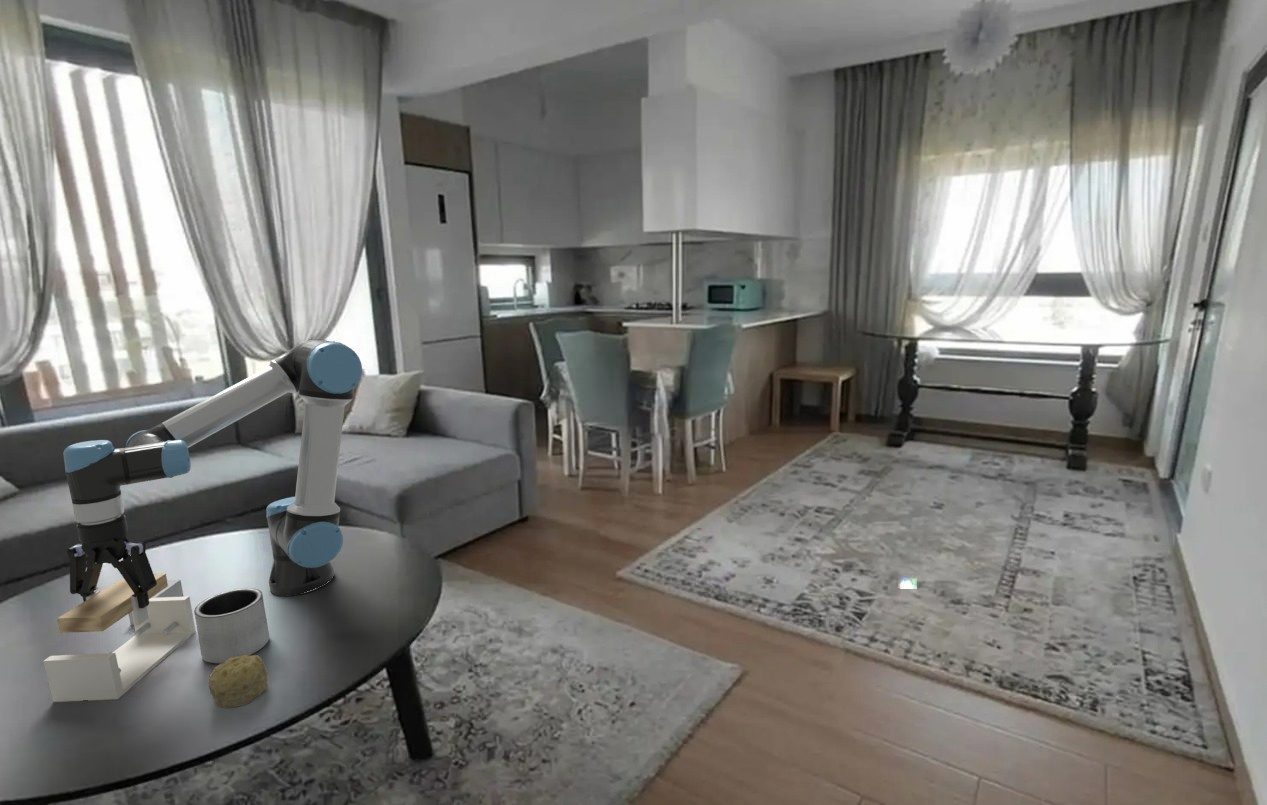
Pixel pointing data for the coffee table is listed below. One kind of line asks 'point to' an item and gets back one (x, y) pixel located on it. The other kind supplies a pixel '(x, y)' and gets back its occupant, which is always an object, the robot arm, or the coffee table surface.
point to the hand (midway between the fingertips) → (120, 622)
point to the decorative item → (238, 681)
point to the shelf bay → (123, 655)
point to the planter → (231, 624)
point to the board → (104, 607)
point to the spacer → (167, 593)
